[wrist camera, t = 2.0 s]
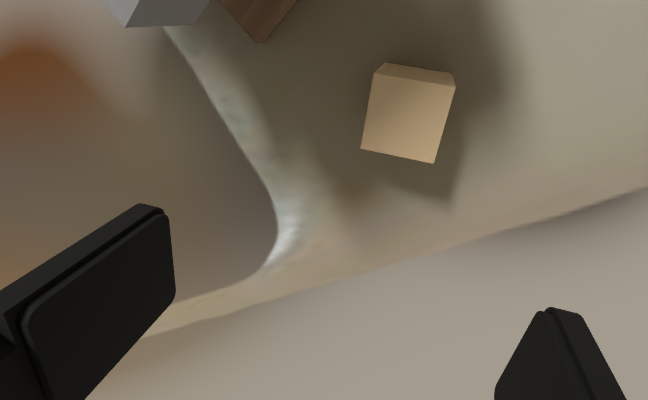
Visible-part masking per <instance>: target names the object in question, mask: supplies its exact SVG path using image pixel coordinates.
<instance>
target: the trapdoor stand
mask: <svg viewBox="0 0 648 400" xmlns="http://www.w3.org/2000/svg"><path fill="white" fill-rule="evenodd" d="M219 1H220V2H221V4H222V5H223V6H224V7H225V8H226V9H227V10H228V11H229V13H230V14H231V15H232V16H233V17H234V18H235V19H236V21H237V22H238V23H239V24H240V25H241V26H242V27H243V29H244V30H245V31H246V32H247V33H248V34H249V35H250V36H251V38H252V39H253V40H254V41H255V42H256V43H263V42H264V41H265V39H266V38H267V37H268V36H269V35H270V33H271V32H272V31H273V30H274V28H275V27H276V26H277V25H278V24H279V22H280V21H281V20H282V19H283V17H284V16H285V15H286V14H287V13H288V11H289V10H290V9H291V8H292V6H293V5H294V4H295V3H296V2H297V0H219Z"/></svg>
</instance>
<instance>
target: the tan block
mask: <svg viewBox="0 0 648 400" xmlns="http://www.w3.org/2000/svg"><path fill="white" fill-rule="evenodd" d="M455 89H456V86H455V82H454V79H453V76H452V73H447V72H441V71H435V70H429V69H423V68H417V67H411V66H405V65H398V64H392V63H386V62H385V63H384V64H383V65H382V66H381V67H380V68H379V69H378V70H377V71H376V72H374V74H373V80H372V86H371V91H370V97H369V102H368V108H367V114H366V119H365V125H364V130H363V136H362V142H361V147H360V149H365V150H370V151H375V152H379V153H384V154H389V155H394V156H398V157H403V158H408V159H413V160H418V161H422V162H427V163H432V164H434V161H435V157H436V154H437V150H438V147H439V144H440V140H441V137H442V133H443V130H444V126H445V123H446V120H447V116H448V113H449V109H450V106H451V102H452V99H453V96H454V92H455Z"/></svg>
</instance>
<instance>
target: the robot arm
mask: <svg viewBox="0 0 648 400" xmlns="http://www.w3.org/2000/svg"><path fill="white" fill-rule="evenodd" d="M175 293H176V287H175V278H174V267H173V257H172V246H171V236H170V226H169V219H168V217H167V216H166V215H165V214H164V211H163V210H162V209H161V208H158V207H154V206H150V205H146V204H141V203H140V204H137V205H135V206H133V207H132V208H130V209H128V210H127V211H125V212H124V213H122V214H121V215H119V216H117V217H116V218H114V219H113V220H111V221H110V222H108V223H106V224H105V225H103V226H102V227H100V228H98V229H97V230H95V231H94V232H92V233H90V234H89V235H87V236H86V237H84V238H83V239H81V240H79V241H78V242H77V243H75V244H73V245H72V246H70V247H68V248H67V249H65V250H64V251H62V252H61V253H59V254H57V255H56V256H54V257H53V258H51V259H49V260H48V261H46V262H45V263H43V264H42V265H40V266H38V267H37V268H35V269H34V270H32V271H30V272H29V273H27V274H26V275H24V276H23V277H21V278H19V279H18V280H16V281H15V282H13V283H11V284H10V285H8V286H7V287H5V288H4V289H2V290H0V400H85V398H86V397H87V396H88V395H89V394H90V393H91V392H92V391H93V390H94V388H95V387H96V386H97V385H98V384H99V383H100V382H101V381H102V380H103V378H104V377H105V376H106V375H107V374H108V373H109V372H110V371H111V370H112V369H113V367H114V366H115V365H116V364H117V363H118V362H119V361H120V360H121V358H122V357H123V356H124V355H125V354H126V353H127V352H128V351H129V350H130V349H131V347H132V346H133V345H134V344H135V343H136V342H137V341H138V340H139V339H140V337H141V336H142V335H143V334H144V333H145V332H146V331H147V330H148V329H149V327H150V326H151V325H152V324H153V323H154V322H155V321H156V320H157V319H158V317H159V316H160V315H161V314H162V313H163V312H164V311H165V310H166V309H167V307H168V306H169V305H170V304H171V303H172V301H173V299H174V297H175ZM494 400H627V399H626V398H625V396H624V394H623V392H622V390H621V388H620V386H619V385H618V383H617V381H616V379H615V377H614V375H613V373H612V371H611V369H610V368H609V366H608V364H607V362H606V360H605V358H604V356H603V355H602V353H601V351H600V349H599V347H598V345H597V343H596V342H595V340H594V338H593V336H592V334H591V332H590V330H589V328H588V327H587V325H586V323H585V321H584V319H583V318H582V316H581V315H579V314H577V313H573V312H569V311H565V310H561V309H557V308H554V307H549V308H547V309H546V310H545V311H544V312H543V311H538V312H537V313H536V314H535V316H534V317H533V319H532V321H531V323H530V325H529V326H528V328H527V330H526V332H525V334H524V335H523V337H522V339H521V341H520V343H519V345H518V346H517V348H516V350H515V352H514V353H513V355H512V357H511V359H510V361H509V363H508V364H507V366H506V368H505V370H504V372H503V373H502V375H501V377H500V379H499V381H498V382H497V384H496V387H495V393H494Z"/></svg>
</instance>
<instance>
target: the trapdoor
mask: <svg viewBox="0 0 648 400" xmlns="http://www.w3.org/2000/svg"><path fill="white" fill-rule="evenodd" d="M99 1H100V2H101V3H102V4H103V5H104V6H105V7H106V8H107V9H108V10H109V12H110V13H111V14H112V15H113V16H114V17H115V18H116V19H117V20H118V21H119V22H120V23H121V24H122V25H123V26H124V27H125V28H128V27H150V26H176V25H194V24H195V23H196V22H197V20H198V19H199V17H200V16H201V14H202V13H203V11H204V10H205V8H206V7H207V5H208V4H209V2H210V1H211V0H99Z"/></svg>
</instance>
